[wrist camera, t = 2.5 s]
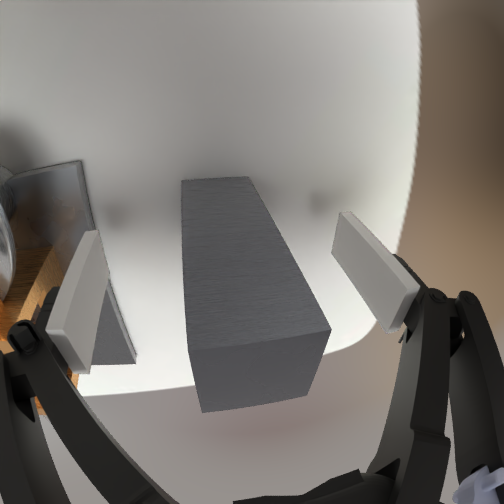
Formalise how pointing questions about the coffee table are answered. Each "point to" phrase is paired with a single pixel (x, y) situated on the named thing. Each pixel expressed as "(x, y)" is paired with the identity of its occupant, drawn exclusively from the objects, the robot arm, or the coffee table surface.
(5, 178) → the multicoloured piece
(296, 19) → the coffee table surface
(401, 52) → the coffee table surface
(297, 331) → the dark gray rectangular block
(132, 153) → the coffee table surface
